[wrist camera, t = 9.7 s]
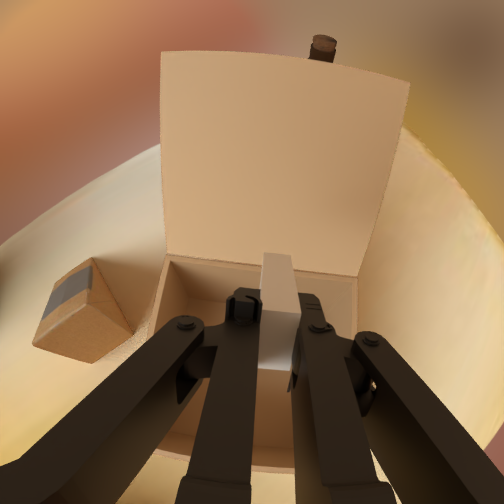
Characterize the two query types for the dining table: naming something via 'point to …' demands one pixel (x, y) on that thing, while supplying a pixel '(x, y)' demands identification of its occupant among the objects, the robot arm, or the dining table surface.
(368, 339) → the robot arm
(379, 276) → the dining table surface
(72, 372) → the dining table surface
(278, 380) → the carton
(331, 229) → the lid flap
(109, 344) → the sandwich container
